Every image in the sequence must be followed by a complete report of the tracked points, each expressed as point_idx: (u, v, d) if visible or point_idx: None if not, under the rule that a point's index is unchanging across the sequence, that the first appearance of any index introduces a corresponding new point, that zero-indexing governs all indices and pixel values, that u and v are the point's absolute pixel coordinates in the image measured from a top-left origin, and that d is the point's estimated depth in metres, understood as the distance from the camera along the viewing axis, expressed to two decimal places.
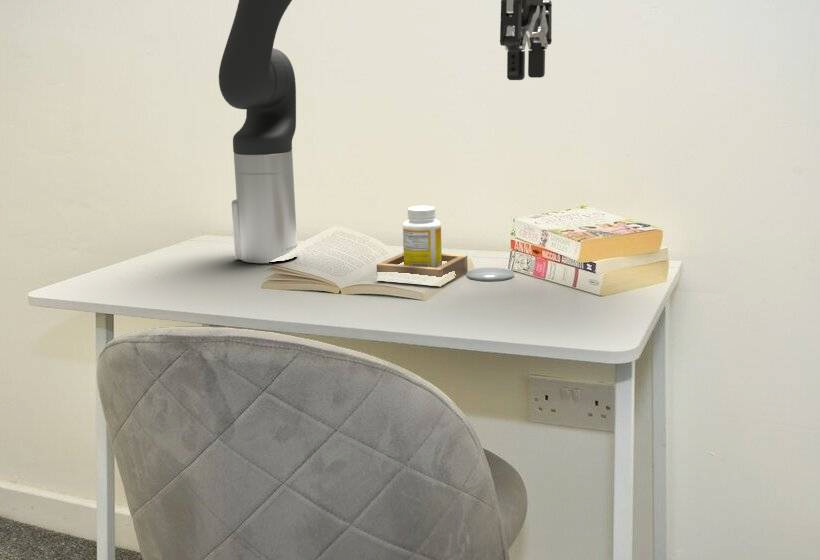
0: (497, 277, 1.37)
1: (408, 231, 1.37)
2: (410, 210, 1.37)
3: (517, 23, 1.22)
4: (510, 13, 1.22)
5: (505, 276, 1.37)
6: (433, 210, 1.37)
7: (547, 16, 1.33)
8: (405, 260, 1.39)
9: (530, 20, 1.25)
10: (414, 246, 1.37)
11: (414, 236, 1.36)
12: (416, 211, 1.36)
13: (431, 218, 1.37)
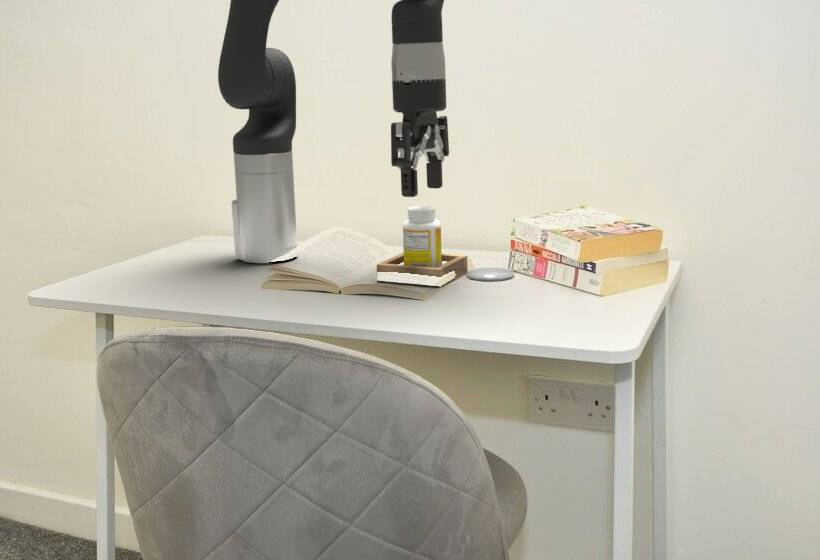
0: (497, 277, 1.37)
1: (408, 231, 1.37)
2: (410, 210, 1.37)
3: (406, 147, 1.29)
4: (399, 137, 1.29)
5: (505, 276, 1.37)
6: (433, 210, 1.37)
7: (443, 131, 1.40)
8: (405, 260, 1.39)
9: (421, 141, 1.32)
10: (414, 246, 1.37)
11: (414, 236, 1.36)
12: (416, 211, 1.36)
13: (431, 218, 1.37)
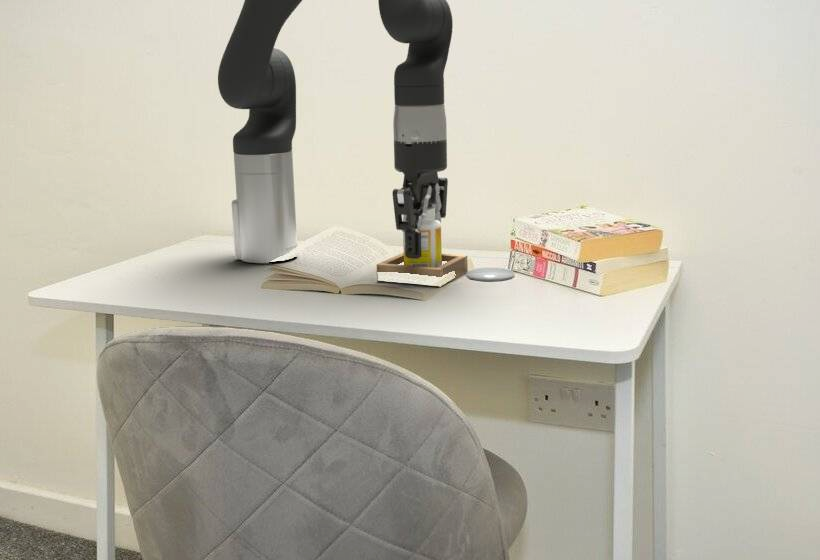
0: (497, 277, 1.37)
1: None
2: None
3: (409, 214, 1.32)
4: (402, 204, 1.32)
5: (505, 276, 1.37)
6: (433, 210, 1.37)
7: (442, 192, 1.42)
8: (405, 260, 1.39)
9: (423, 203, 1.35)
10: None
11: None
12: None
13: (431, 218, 1.37)
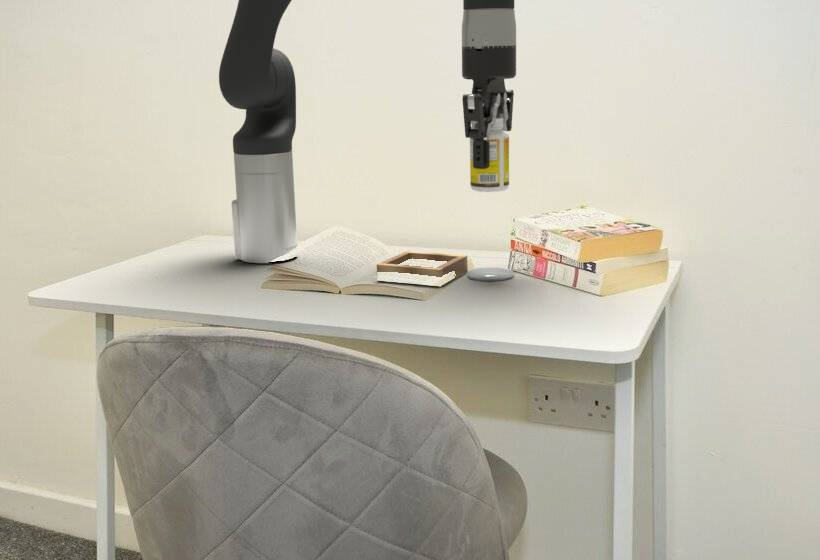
0: (497, 277, 1.37)
1: None
2: None
3: (479, 120, 1.29)
4: (472, 109, 1.29)
5: (505, 276, 1.37)
6: (502, 119, 1.34)
7: (508, 104, 1.38)
8: (472, 172, 1.35)
9: (492, 111, 1.31)
10: None
11: None
12: None
13: (500, 127, 1.34)
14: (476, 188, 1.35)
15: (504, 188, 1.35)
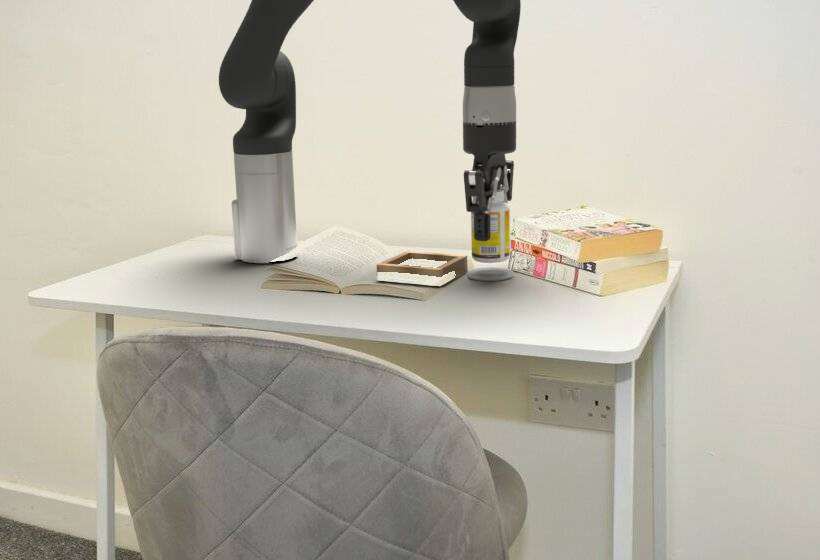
0: (497, 277, 1.37)
1: None
2: None
3: (480, 195, 1.31)
4: (473, 185, 1.31)
5: (505, 276, 1.37)
6: (502, 192, 1.36)
7: (509, 174, 1.41)
8: (473, 243, 1.38)
9: (492, 185, 1.34)
10: None
11: None
12: None
13: (500, 200, 1.36)
14: (477, 259, 1.37)
15: (505, 259, 1.37)
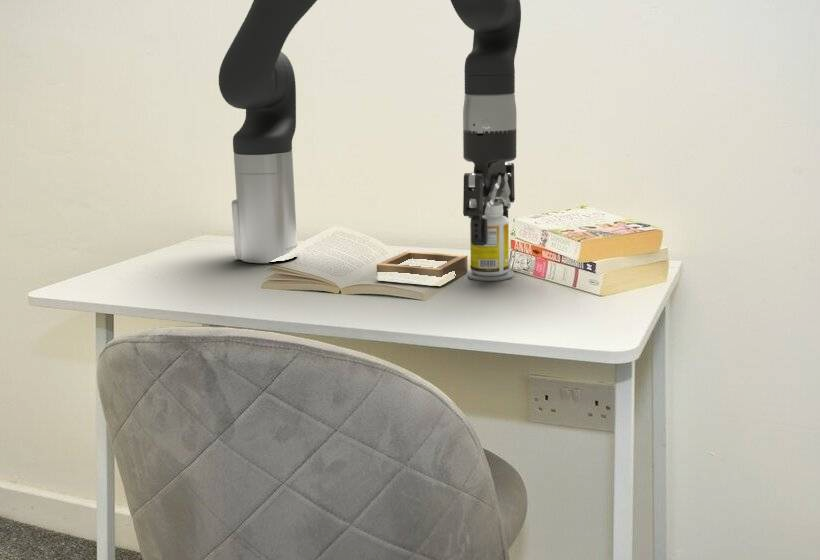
0: (497, 277, 1.37)
1: None
2: None
3: (478, 198, 1.30)
4: (472, 188, 1.31)
5: (505, 276, 1.37)
6: (501, 206, 1.37)
7: (510, 177, 1.41)
8: (472, 256, 1.38)
9: (492, 191, 1.34)
10: None
11: None
12: None
13: (499, 214, 1.36)
14: (476, 272, 1.38)
15: (504, 272, 1.38)
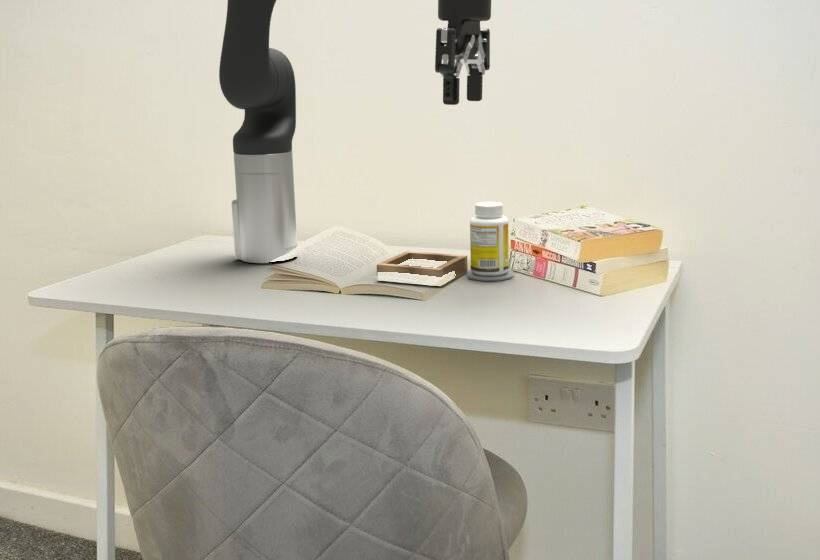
0: (497, 277, 1.37)
1: (476, 227, 1.36)
2: (478, 206, 1.36)
3: (450, 53, 1.30)
4: (444, 43, 1.30)
5: (505, 276, 1.37)
6: (501, 206, 1.37)
7: (485, 43, 1.41)
8: (472, 256, 1.38)
9: (465, 49, 1.33)
10: (482, 242, 1.36)
11: (483, 232, 1.36)
12: (484, 207, 1.36)
13: (499, 214, 1.36)
14: (476, 272, 1.38)
15: (504, 272, 1.38)
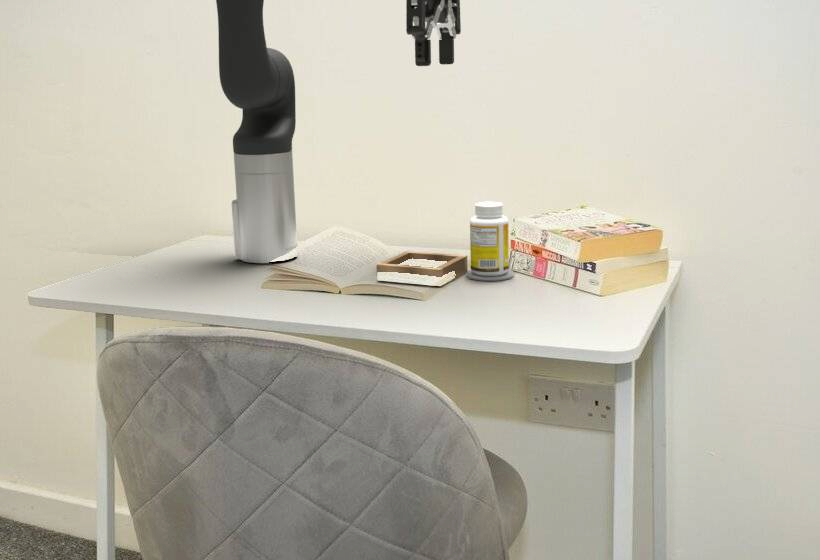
0: (497, 277, 1.37)
1: (476, 227, 1.36)
2: (478, 206, 1.36)
3: (420, 14, 1.35)
4: (414, 5, 1.35)
5: (505, 276, 1.37)
6: (501, 206, 1.37)
7: (455, 8, 1.45)
8: (472, 256, 1.38)
9: (435, 11, 1.38)
10: (482, 242, 1.36)
11: (483, 232, 1.36)
12: (484, 207, 1.36)
13: (499, 214, 1.36)
14: (476, 272, 1.38)
15: (504, 272, 1.38)
